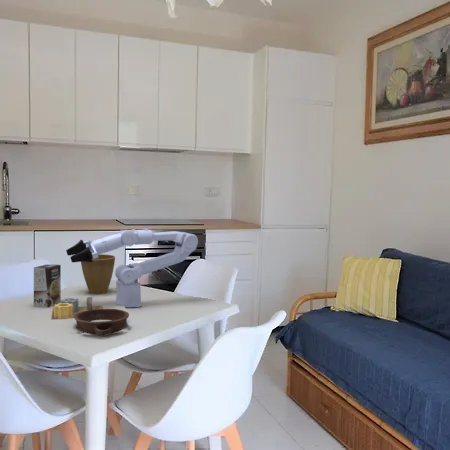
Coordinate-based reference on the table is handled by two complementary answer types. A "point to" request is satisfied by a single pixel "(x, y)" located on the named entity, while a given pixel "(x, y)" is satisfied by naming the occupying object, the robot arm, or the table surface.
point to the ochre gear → (63, 310)
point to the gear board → (80, 308)
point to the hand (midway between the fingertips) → (68, 256)
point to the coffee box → (47, 285)
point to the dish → (102, 327)
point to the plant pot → (98, 273)
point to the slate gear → (74, 302)
